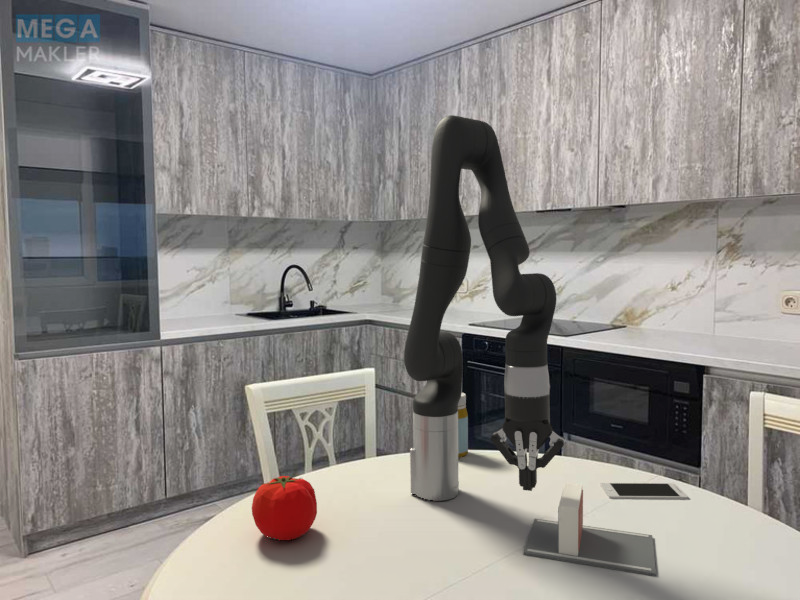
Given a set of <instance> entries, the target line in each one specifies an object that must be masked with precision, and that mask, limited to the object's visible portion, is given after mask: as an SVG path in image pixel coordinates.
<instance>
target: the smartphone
mask: <svg viewBox="0 0 800 600" xmlns="http://www.w3.org/2000/svg"><path fill="white" fill-rule="evenodd" d="M599 484H600V487H601V488H602V490H603V491H604V493H605V494H606V496H607V498H608V499H611V500H612V499H613V500H616V499H619V500H620V499H621V500H622V499H625V500H626V499H629V500H689V496H688V495H687V494H686V493H685V492H684V491H683V489H681V488H680V487H679V486H678V485H677V484H676V483H672V482H671V483H670V482H667V483H665V482H662V483H661V482H659V483H658V482H657V483H656V482H653V483H652V482H643V483H642V482H601V483H599Z"/></svg>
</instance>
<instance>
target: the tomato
mask: <svg viewBox="0 0 800 600" xmlns="http://www.w3.org/2000/svg"><path fill="white" fill-rule="evenodd" d="M317 502H318V501H317V497H316V492H315V488H314V487H313V486H312V484H311V483H310V482H309V481H308V480H305V479H304V478H302V477H299V478H296V477H292V476H289V475H281V476H278V477H275V478H274V477H273V478H272V479H271V480H270V481H269V482H265V483H263V484H261V485H260V486H259V487H258V488H257V489H256V491H255V494H254V495H253V497H252V504H251V515H252V518H253V520H254V523H255V526H256V527H257V529H258V530H259V532H260V533H261V534H263V536H265V537H267V536H268V537H271V538H270V539H272V538H275V539H274V540H276V539H279V540H278V541H280V540H287V541H291V539H292V540H295V539H298V538H300V537H302V536H304V535H305V534H306V533H307V532H308V531H309V530H310V529H311V527H312V526H313V524H314V522H315V520H316V518H317V514H318V506H317V505H318V503H317ZM301 535H302V536H301ZM268 537H267V538H268Z"/></svg>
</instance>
